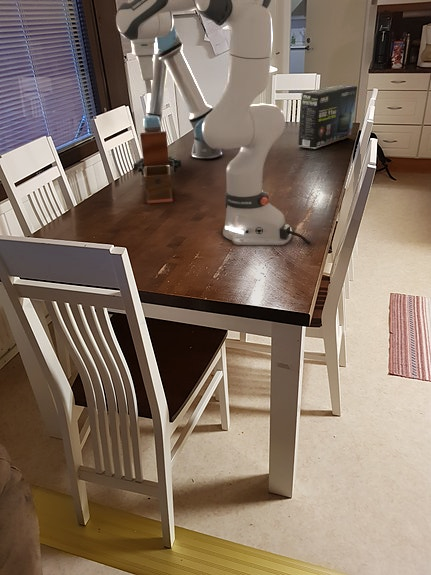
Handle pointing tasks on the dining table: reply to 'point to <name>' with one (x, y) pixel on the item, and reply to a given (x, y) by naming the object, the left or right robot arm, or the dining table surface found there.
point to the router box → (326, 115)
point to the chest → (158, 183)
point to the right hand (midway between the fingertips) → (149, 91)
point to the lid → (154, 146)
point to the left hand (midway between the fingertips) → (158, 170)
